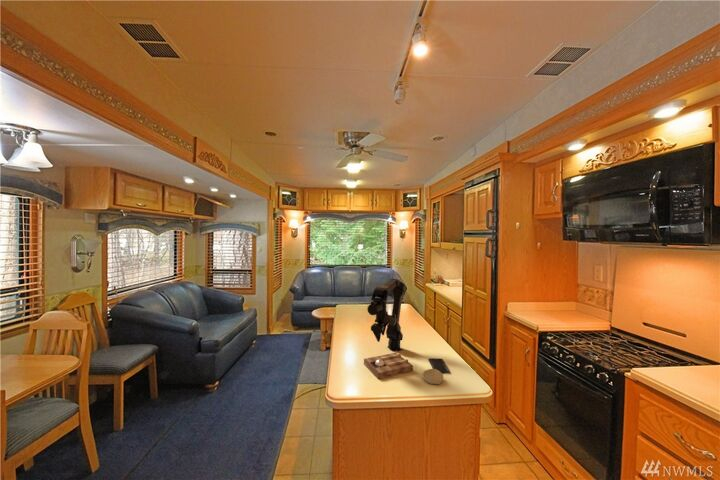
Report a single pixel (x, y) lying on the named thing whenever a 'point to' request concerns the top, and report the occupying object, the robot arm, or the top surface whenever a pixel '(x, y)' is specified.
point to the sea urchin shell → (433, 376)
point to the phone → (439, 365)
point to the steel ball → (379, 363)
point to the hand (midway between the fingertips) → (380, 338)
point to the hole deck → (388, 365)
